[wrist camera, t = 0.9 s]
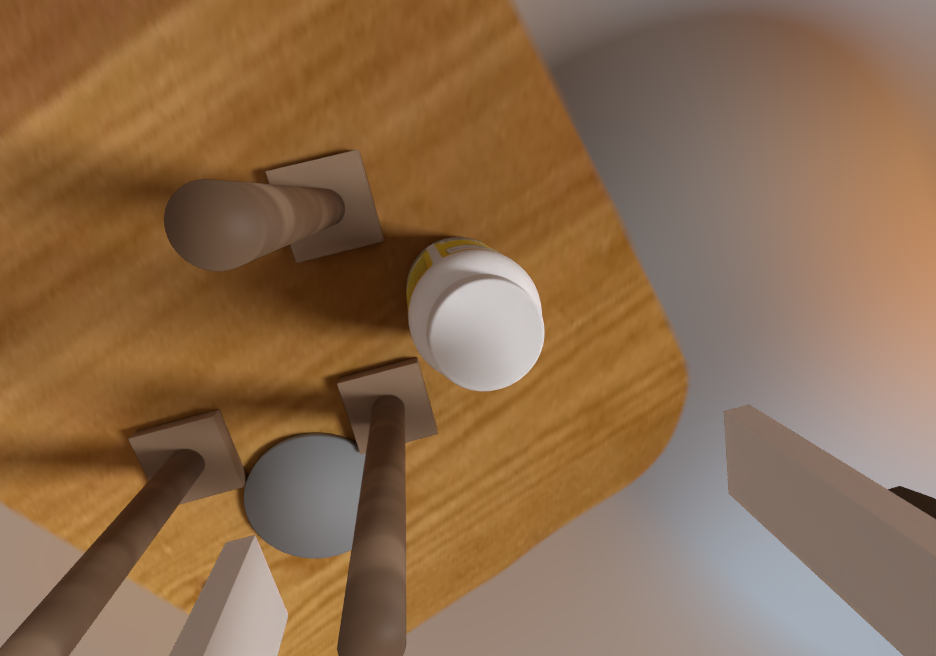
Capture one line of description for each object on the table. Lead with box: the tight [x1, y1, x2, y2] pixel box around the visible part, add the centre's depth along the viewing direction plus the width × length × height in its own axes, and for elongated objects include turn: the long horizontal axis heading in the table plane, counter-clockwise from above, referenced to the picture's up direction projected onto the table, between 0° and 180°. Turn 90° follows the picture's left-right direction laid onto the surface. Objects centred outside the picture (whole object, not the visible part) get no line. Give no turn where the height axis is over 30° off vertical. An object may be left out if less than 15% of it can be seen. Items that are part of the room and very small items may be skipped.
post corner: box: [337, 357, 438, 656], centre depth 23 cm, size 5×5×18 cm
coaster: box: [244, 433, 366, 558], centre depth 32 cm, size 9×9×1 cm
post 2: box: [164, 150, 384, 271], centre depth 19 cm, size 5×5×18 cm
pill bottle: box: [406, 237, 544, 391], centre depth 24 cm, size 6×6×11 cm
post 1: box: [0, 410, 248, 656], centre depth 22 cm, size 5×5×18 cm
